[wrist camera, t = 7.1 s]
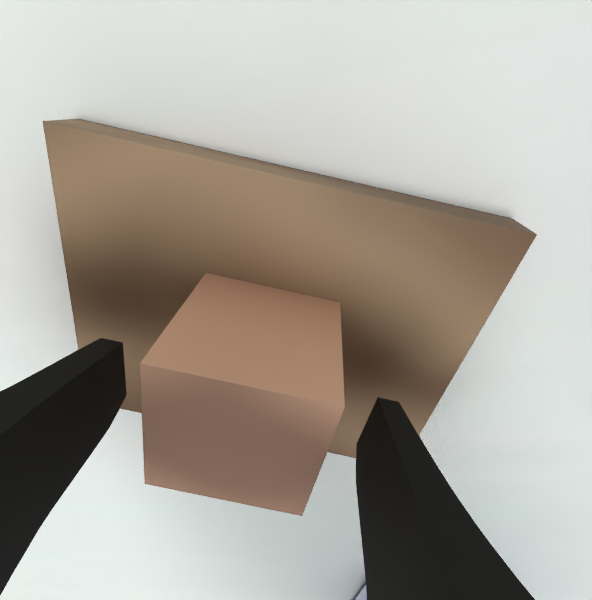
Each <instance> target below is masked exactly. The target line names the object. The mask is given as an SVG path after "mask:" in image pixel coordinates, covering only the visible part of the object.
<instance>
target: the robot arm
mask: <svg viewBox="0 0 592 600" xmlns="http://www.w3.org/2000/svg"><path fill="white" fill-rule="evenodd" d="M126 395H127V393H126V379H125V365H124V351H123V342H118V341H114V340H109V339H104V338H100V339H98V340H96V341H94V342H92V343H90V344H88V345H86V346H85V347H83V348H81V349H79V350H77V351H75V352H74V353H72V354H70V355H68V356H66V357H65V358H63V359H61V360H59V361H57V362H56V363H54V364H52V365H50V366H48V367H46V368H45V369H43V370H41V371H39V372H37V373H35V374H33V375H31V376H30V377H28V378H26V379H24V380H22V381H20V382H18V383H17V384H15V385H13V386H11V387H9V388H7V389H5V390H3V391H1V392H0V595H1V593H2V591H3V590H4V588H5V586H6V584H7V582H8V581H9V579H10V577H11V575H12V574H13V572H14V570H15V568H16V567H17V565H18V563H19V562H20V560H21V558H22V557H23V555H24V553H25V552H26V550H27V548H28V546H29V545H30V543H31V541H32V540H33V538H34V536H35V535H36V533H37V531H38V530H39V528H40V526H41V525H42V523H43V522H44V520H45V519H46V517H47V516H48V514H49V513H50V511H51V510H52V508H53V507H54V505H55V504H56V503H57V501H58V500H59V498H60V497H61V496H62V494H63V493H64V491H65V490H66V489H67V487H68V486H69V484H70V483H71V482H72V480H73V479H74V477H75V476H76V474H77V473H78V472H79V470H80V469H81V467H82V466H83V465H84V463H85V462H86V460H87V459H88V458H89V456H90V455H91V453H92V452H93V450H94V449H95V448H96V446H97V445H98V443H99V442H100V440H101V439H102V438H103V436H104V435H105V433H106V432H107V430H108V429H109V427H110V425H111V423H112V422H113V420H114V418H115V416H116V414H117V413H118V411H119V409H120V407H121V405H122V403H123V401H124V399H125V397H126ZM356 486H357V496H358V507H359V517H360V527H361V536H362V546H363V556H364V566H365V577H366V585H365V586H364V587H363V589H362V590H361V592H360V593H359V594H358V596H357V597H356V599H355V600H535V599H534V598H533V597H532V596H531V594H530V593H529V592H528V591H527V590H526V588H525V587H524V586H523V585H522V584H521V582H520V581H519V580H518V579H517V577H516V576H515V575H514V574H513V572H512V571H511V570H510V568H509V567H508V566H507V565H506V563H505V562H504V561H503V559H502V558H501V557H500V556H499V554H498V553H497V552H496V550H495V549H494V548H493V547H492V545H491V544H490V543H489V541H488V540H487V539H486V537H485V536H484V535H483V533H482V532H481V531H480V529H479V528H478V526H477V525H476V524H475V522H474V521H473V519H472V518H471V516H470V515H469V514H468V512H467V511H466V509H465V508H464V506H463V505H462V503H461V502H460V501H459V499H458V498H457V496H456V495H455V493H454V492H453V490H452V489H451V487H450V486H449V484H448V482H447V481H446V479H445V478H444V476H443V474H442V473H441V471H440V470H439V468H438V467H437V465H436V463H435V462H434V460H433V459H432V457H431V455H430V454H429V452H428V450H427V449H426V447H425V445H424V444H423V442H422V440H421V439H420V437H419V435H418V433H417V432H416V430H415V428H414V427H413V425H412V423H411V421H410V420H409V418H408V416H407V415H406V413H405V411H404V410H403V408H402V406H401V405H400V403H399V402H398V401H393V400H388V399H384V398H379V397H378V398H377V400H376V402H375V404H374V406H373V409H372V411H371V413H370V415H369V417H368V420H367V422H366V424H365V426H364V428H363V431H362V433H361V435H360V437H359V439H358V442H357V446H356Z"/></svg>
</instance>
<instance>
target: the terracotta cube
mask: <svg viewBox="0 0 592 600" xmlns="http://www.w3.org/2000/svg"><path fill="white" fill-rule="evenodd" d="M140 377H141V401H142V426H143V451H144V475H145V484H149V485H154V486H159V487H164V488H169V489H173V490H178V491H183V492H188V493H193V494H198V495H203V496H208V497H212V498H217V499H222V500H227V501H232V502H237V503H242V504H247V505H251V506H256V507H261V508H266V509H271V510H276V511H281V512H286V513H290V514H295V515H300V516H302V514H303V512H304V509H305V507H306V504H307V502H308V499H309V497H310V494H311V492H312V489H313V487H314V484H315V481H316V479H317V476H318V474H319V471H320V469H321V466H322V464H323V461H324V459H325V456H326V454H327V451H328V449H329V446H330V443H331V441H332V438H333V436H334V433H335V431H336V428H337V426H338V423H339V421H340V418H341V416H342V413H343V410H344V408H345V399H344V377H343V354H342V332H341V310H340V302H335V301H331V300H326V299H322V298H317V297H313V296H308V295H304V294H299V293H295V292H290V291H286V290H281V289H277V288H272V287H268V286H263V285H259V284H254V283H250V282H245V281H240V280H236V279H231V278H227V277H222V276H218V275H213V274H209V273H206V274H205V275H204V276H203V278H202V279H201V280H200V282H199V283H198V285H197V286H196V287H195V289H194V290H193V291H192V293H191V294H190V296H189V297H188V298H187V300H186V301H185V302H184V304H183V305H182V306H181V308H180V309H179V311H178V312H177V313H176V315H175V316H174V317H173V319H172V320H171V321H170V323H169V324H168V326H167V327H166V328H165V330H164V331H163V332H162V334H161V335H160V336H159V338H158V339H157V341H156V342H155V343H154V345H153V346H152V347H151V349H150V350H149V352H148V353H147V354H146V356H145V357H144V358H143V360H142V361H141V362H140Z"/></svg>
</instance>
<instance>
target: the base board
mask: <svg viewBox="0 0 592 600" xmlns="http://www.w3.org/2000/svg"><path fill="white" fill-rule="evenodd" d="M43 126H44V133H45V139H46V145H47V152H48V158H49V164H50V171H51V177H52V184H53V190H54V196H55V203H56V209H57V215H58V222H59V228H60V234H61V241H62V247H63V254H64V260H65V266H66V273H67V279H68V285H69V292H70V298H71V305H72V311H73V317H74V324H75V330H76V336H77V343H78V349H81V348H83V347H85V346H86V345H88V344H90V343H92V342H94V341H96V340H98V339H100V338H104V339H109V340H114V341H118V342H123V351H124V365H125V379H126V393H127V395H126V397H125V399H124V401H123V403H122V405H121V407H120V408H121V409H125V410H130V411H135V412H140V413H142V401H141V377H140V362H141V361H142V360H143V358H144V357H145V356H146V354H147V353H148V352H149V350H150V349H151V347H152V346H153V345H154V343H155V342H156V341H157V339H158V338H159V336H160V335H161V334H162V332H163V331H164V330H165V328H166V327H167V326H168V324H169V323H170V321H171V320H172V319H173V317H174V316H175V315H176V313H177V312H178V311H179V309H180V308H181V306H182V305H183V304H184V302H185V301H186V300H187V298H188V297H189V296H190V294H191V293H192V291H193V290H194V289H195V287H196V286H197V285H198V283H199V282H200V280H201V279H202V278H203V276H204V275H205V274H206V273H209V274H213V275H218V276H222V277H227V278H231V279H236V280H240V281H245V282H250V283H254V284H259V285H263V286H268V287H272V288H277V289H281V290H286V291H290V292H295V293H299V294H304V295H308V296H313V297H317V298H322V299H326V300H331V301H335V302H340V310H341V332H342V354H343V377H344V399H345V408H344V410H343V413H342V416H341V418H340V421H339V423H338V426H337V428H336V431H335V433H334V436H333V438H332V441H331V443H330V446H329V449H328V451H327V452H330V453H335V454H340V455H344V456H349V457H354V458H356V446H357V442H358V439H359V437H360V435H361V433H362V431H363V428H364V426H365V424H366V422H367V420H368V417H369V415H370V413H371V411H372V409H373V406H374V404H375V402H376V400H377V398H378V397H379V398H384V399H388V400H393V401H398V402H399V403H400V405H401V406H402V408H403V410H404V411H405V413H406V415H407V416H408V418H409V420H410V421H411V423H412V425H413V427H414V428H415V430H416V432H417V433H418V435H419V434H420V432H421V431H422V429H423V427H424V426H425V424H426V422H427V420H428V419H429V417H430V415H431V414H432V412H433V410H434V409H435V407H436V405H437V403H438V402H439V400H440V398H441V397H442V395H443V393H444V392H445V390H446V388H447V386H448V385H449V383H450V381H451V380H452V378H453V376H454V375H455V373H456V371H457V369H458V368H459V366H460V364H461V363H462V361H463V359H464V358H465V356H466V354H467V352H468V351H469V349H470V347H471V346H472V344H473V342H474V341H475V339H476V337H477V335H478V334H479V332H480V330H481V329H482V327H483V325H484V324H485V322H486V320H487V318H488V317H489V315H490V313H491V312H492V310H493V308H494V307H495V305H496V303H497V301H498V300H499V298H500V296H501V295H502V293H503V291H504V290H505V288H506V286H507V284H508V283H509V281H510V279H511V278H512V276H513V274H514V273H515V271H516V269H517V267H518V266H519V264H520V262H521V261H522V259H523V257H524V256H525V254H526V252H527V250H528V249H529V247H530V245H531V244H532V242H533V240H534V239H535V237H536V235H537V234H535V233H534V232H532V231H531V230H529V229H528V228H526V227H524V226H523V225H521V224H520V223H518V222H517V221H515V220H514V219H511V218H507V217H502V216H498V215H493V214H489V213H485V212H480V211H476V210H472V209H467V208H463V207H459V206H454V205H450V204H446V203H441V202H437V201H433V200H428V199H424V198H420V197H415V196H411V195H407V194H402V193H398V192H393V191H389V190H385V189H380V188H376V187H372V186H367V185H363V184H359V183H354V182H350V181H346V180H341V179H337V178H333V177H328V176H324V175H320V174H315V173H311V172H307V171H302V170H298V169H293V168H289V167H285V166H280V165H276V164H272V163H267V162H263V161H259V160H254V159H250V158H246V157H241V156H237V155H233V154H228V153H224V152H220V151H215V150H211V149H207V148H202V147H198V146H194V145H189V144H185V143H180V142H176V141H172V140H167V139H163V138H159V137H154V136H150V135H146V134H141V133H137V132H133V131H128V130H124V129H120V128H115V127H111V126H107V125H102V124H98V123H94V122H89V121H85V120H80V119H69V120H54V121H43Z"/></svg>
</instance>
